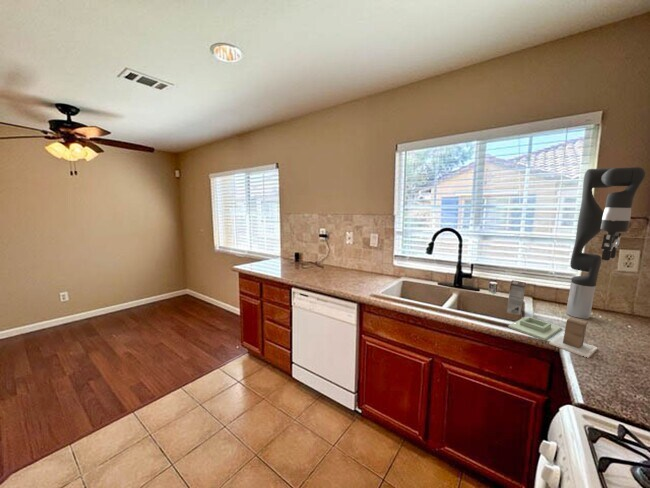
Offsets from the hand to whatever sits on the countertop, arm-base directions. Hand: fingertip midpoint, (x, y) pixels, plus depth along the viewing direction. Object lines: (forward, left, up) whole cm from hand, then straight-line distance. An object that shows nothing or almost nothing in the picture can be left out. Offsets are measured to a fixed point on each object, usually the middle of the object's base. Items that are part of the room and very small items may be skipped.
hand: (608, 258), depth 108 cm
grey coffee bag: (-6, -32, -36) cm, 49 cm away
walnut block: (+14, -3, -35) cm, 38 cm away
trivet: (+14, -3, -36) cm, 39 cm away
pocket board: (+8, -18, -36) cm, 41 cm away
